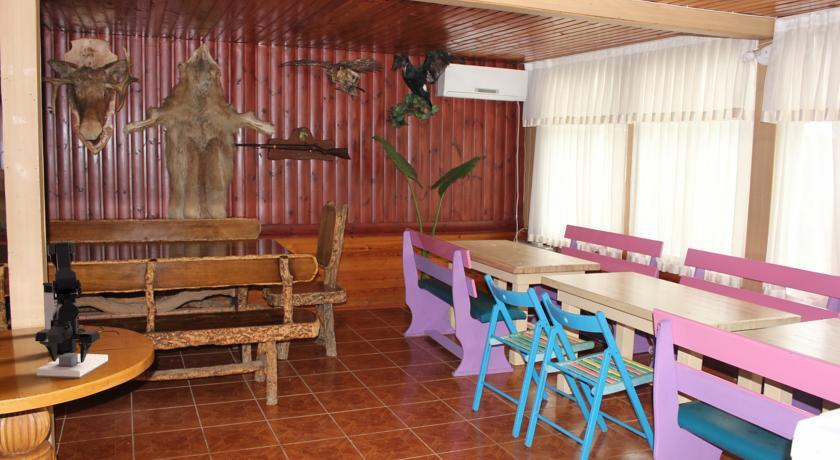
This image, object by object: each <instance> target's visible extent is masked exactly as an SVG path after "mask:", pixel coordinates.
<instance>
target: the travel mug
mask: <svg viewBox="0 0 840 460" xmlns="http://www.w3.org/2000/svg"><path fill="white" fill-rule="evenodd" d="M42 286H43V302H44V303H43V307H44V309H43V310H44V329H50V320H52V314H53V312H54V311H55V309H56V308H57V302H56V301H57V300H53V286H52V282H43V283H42ZM55 297H57V295H56V294H55Z"/></svg>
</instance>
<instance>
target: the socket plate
mask: <svg viewBox="0 0 840 460" xmlns="http://www.w3.org/2000/svg"><path fill="white" fill-rule="evenodd" d="M70 354H74V353H73V352H71V353H70ZM77 354H78V364H77V365H75V366H73V367H59V357H58V358H57V359H56V361H55V362H53V360H52V361H50V362H48V363H46V364H44V365H42V366H40V367H38V368H36V377H38V378H57V379H58V378H60V379H82V378H83V377H85V376H87V375H88V374H90V373H92V372H93V371H95V370H97V369H98V368H100V367H102V366H104V365H105V364H107V363H108V362H109V355H108V354H97V353H95V354H94V353H87V355H86V357H85V360H84V362H83V363H81V360H80V353H77Z"/></svg>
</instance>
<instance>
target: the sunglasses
mask: <svg viewBox="0 0 840 460" xmlns="http://www.w3.org/2000/svg"><path fill="white" fill-rule="evenodd" d="M79 327H98V328H100V329H102V331H101V330H99V331H98V330H97V331H98V332H99V333H111V332H114V333H116V334H117V335H121V334H120V332H118V331H116V330H105V329H104V327H102V326H101V325H96V324H95V325H94V324H85V325H84V324H79ZM85 331H87V330H86V329H84V328H79V333H83V332H85ZM77 340H78V341H79V339H77Z"/></svg>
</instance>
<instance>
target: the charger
mask: <svg viewBox="0 0 840 460" xmlns="http://www.w3.org/2000/svg"><path fill="white" fill-rule="evenodd" d="M78 354H79V353H73V354H70V353H65V354H60V355H59V356H58V358H59V367H73V366H75V365H77V364H78Z"/></svg>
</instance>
